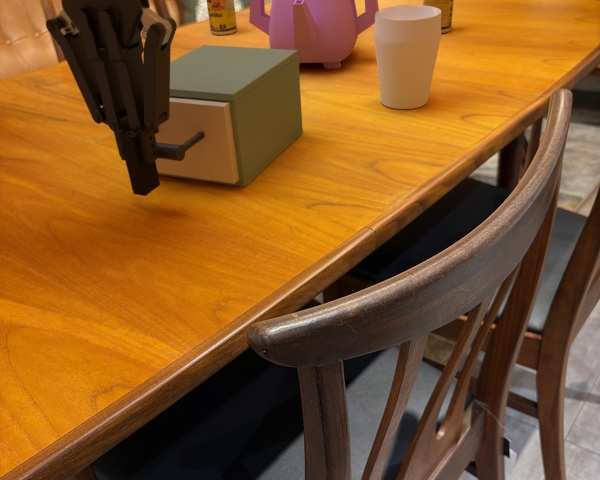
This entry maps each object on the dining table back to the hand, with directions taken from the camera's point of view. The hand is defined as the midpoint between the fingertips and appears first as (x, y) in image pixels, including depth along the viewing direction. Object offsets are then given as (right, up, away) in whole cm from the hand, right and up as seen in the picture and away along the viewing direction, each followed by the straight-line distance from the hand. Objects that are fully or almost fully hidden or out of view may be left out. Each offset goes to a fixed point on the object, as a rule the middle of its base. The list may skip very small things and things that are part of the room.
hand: (147, 189), depth 64 cm
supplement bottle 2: (+43, +41, +55) cm, 81 cm away
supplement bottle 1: (0, +45, +65) cm, 78 cm away
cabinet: (+7, +7, +14) cm, 17 cm away
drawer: (+5, +5, +10) cm, 12 cm away
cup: (+31, +17, +25) cm, 43 cm away
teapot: (+19, +31, +44) cm, 57 cm away
